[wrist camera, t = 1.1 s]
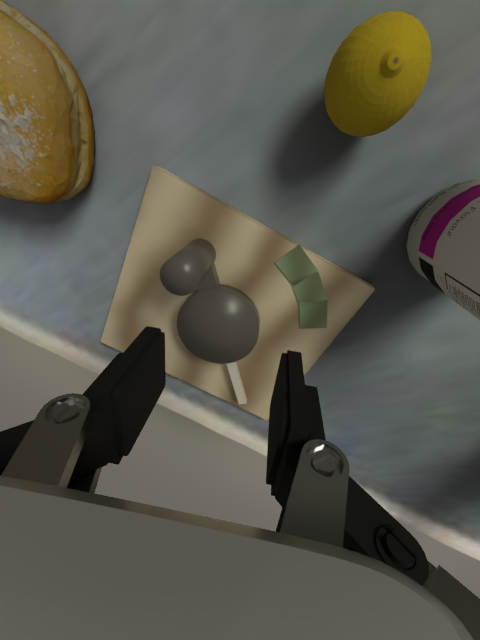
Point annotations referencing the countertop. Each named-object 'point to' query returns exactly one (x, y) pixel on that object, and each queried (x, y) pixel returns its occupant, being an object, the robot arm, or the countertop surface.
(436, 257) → the supplement can
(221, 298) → the dark grey handled piece
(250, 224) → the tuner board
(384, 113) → the lemon
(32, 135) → the bread
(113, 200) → the countertop surface
